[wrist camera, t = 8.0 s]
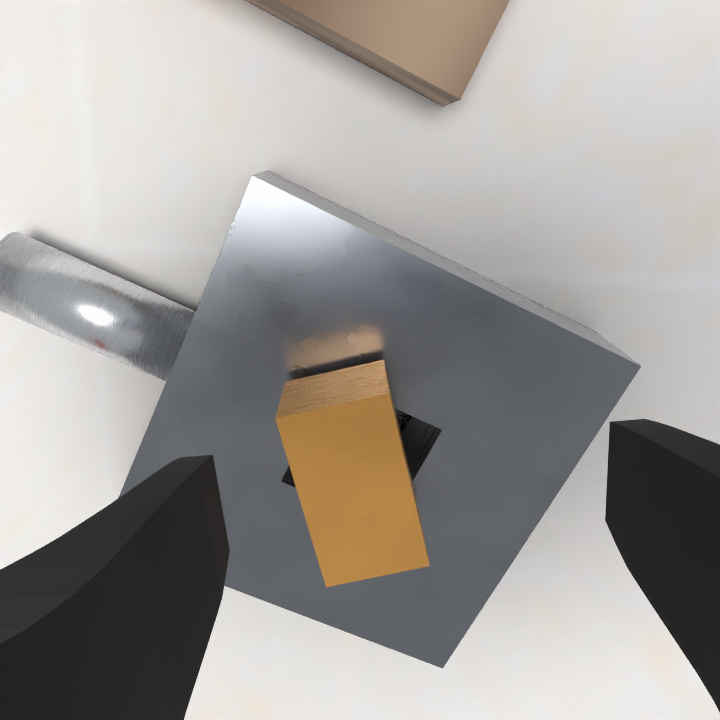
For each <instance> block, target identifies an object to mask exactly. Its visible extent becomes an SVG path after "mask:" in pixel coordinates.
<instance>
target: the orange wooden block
mask: <svg viewBox="0 0 720 720" xmlns="http://www.w3.org/2000/svg"><path fill="white" fill-rule="evenodd" d="M275 420H276V423H277V426H278V430H279V433H280V436H281V439H282V443H283V446H284V449H285V453H286V456H287V459H288V463H289V466H290V469H291V473H292V476H293V479H294V483H295V486H296V489H297V493H298V496H299V499H300V502H301V506H302V509H303V512H304V516H305V519H306V522H307V526H308V529H309V532H310V536H311V539H312V542H313V546H314V549H315V552H316V556H317V559H318V562H319V565H320V569H321V572H322V575H323V579H324V582H325V585H326V587H330V586H335V585H340V584H345V583H350V582H355V581H359V580H364V579H369V578H374V577H379V576H384V575H389V574H393V573H398V572H403V571H408V570H413V569H418V568H423V567H427V566H430V564H429V559H428V554H427V548H426V543H425V538H424V533H423V528H422V523H421V517H420V512H419V508H418V504H417V500H416V495H415V491H414V487H413V482H412V478H411V474H410V470H409V465H408V461H407V457H406V452H405V448H404V444H403V440H402V435H401V431H400V427H399V422H398V418H397V414H396V410H395V405H394V401H393V397H392V392H391V388H390V384H389V380H388V375H387V371H386V367H385V362H384V360H379V361H375V362H371V363H366V364H362V365H357V366H353V367H348V368H344V369H340V370H335V371H331V372H326V373H322V374H317V375H313V376H309V377H304V378H300V379H295V380H291V381H286V382H285V384H284V388H283V391H282V395H281V399H280V403H279V406H278V410H277V414H276V417H275Z"/></svg>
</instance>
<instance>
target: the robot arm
mask: <svg viewBox="0 0 720 720" xmlns="http://www.w3.org/2000/svg"><path fill="white" fill-rule="evenodd" d="M605 521H606V523H607V525H608V527H609V530H610V532H611V534H612V536H613V539H614V541H615V543H616V545H617V547H618V549H619V552H620V554H621V556H622V558H623V560H624V562H625V564H626V566H627V568H628V569H629V571H630V572H631V574H632V576H633V577H634V579H635V580H636V582H637V583H638V585H639V586H640V588H641V589H642V591H643V592H644V594H645V596H646V597H647V599H648V600H649V602H650V603H651V605H652V606H653V608H654V609H655V611H656V612H657V614H658V615H659V617H660V618H661V620H662V621H663V623H664V624H665V626H666V627H667V629H668V630H669V632H670V633H671V635H672V636H673V638H674V639H675V641H676V642H677V644H678V645H679V647H680V648H681V650H682V651H683V653H684V654H685V656H686V657H687V659H688V660H689V662H690V663H691V665H692V666H693V668H694V669H695V671H696V672H697V674H698V675H699V677H700V679H701V680H702V682H703V684H704V685H705V687H706V689H707V690H708V692H709V694H710V695H711V697H712V699H713V700H714V702H715V704H716V706H717V708H718V710H719V712H720V445H719V444H716V443H714V442H711V441H709V440H706V439H703V438H701V437H698V436H695V435H693V434H690V433H687V432H685V431H682V430H679V429H676V428H674V427H671V426H668V425H665V424H662V423H658V422H655V421H651V420H646V419H639V420H627V421H615V422H610V431H609V452H608V474H607V496H606V517H605ZM229 553H230V549H229V543H228V537H227V532H226V526H225V520H224V515H223V509H222V503H221V498H220V492H219V486H218V481H217V475H216V469H215V464H214V458H213V455H203V456H191V457H180V458H178V459H176V460H174V461H172V462H170V463H169V464H167V465H166V466H164V467H162V468H161V469H160V470H158V471H157V472H155V473H154V474H152V475H151V476H149V477H148V478H147V479H145V480H144V481H142V482H141V483H140V484H138V485H137V486H135V487H134V488H132V489H131V490H130V491H128V492H127V493H125V494H124V495H123V496H121V497H120V498H118V499H117V500H115V501H114V502H113V503H111V504H110V505H108V506H107V507H105V508H104V509H102V510H101V511H99V512H98V513H96V514H95V515H93V516H92V517H90V518H88V519H87V520H85V521H84V522H82V523H81V524H79V525H78V526H76V527H75V528H73V529H71V530H70V531H68V532H67V533H65V534H64V535H62V536H61V537H59V538H57V539H56V540H54V541H52V542H50V543H49V544H47V545H45V546H44V547H42V548H40V549H38V550H36V551H35V552H33V553H31V554H29V555H27V556H25V557H24V558H22V559H20V560H18V561H16V562H14V563H12V564H10V565H8V566H7V567H5V568H3V569H1V570H0V720H184V717H185V713H186V710H187V707H188V704H189V701H190V698H191V694H192V691H193V688H194V685H195V682H196V679H197V676H198V673H199V670H200V667H201V663H202V660H203V657H204V654H205V651H206V648H207V645H208V642H209V639H210V635H211V632H212V629H213V626H214V623H215V619H216V616H217V613H218V610H219V606H220V603H221V600H222V595H223V589H224V584H225V578H226V572H227V566H228V559H229Z"/></svg>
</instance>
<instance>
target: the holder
mask: <svg viewBox="0 0 720 720" xmlns="http://www.w3.org/2000/svg"><path fill="white" fill-rule="evenodd" d="M246 1H247V2H249V3H251V4H253V5H255V6H257V7H259V8H260V9H262V10H264V11H266V12H268V13H270V14H272V15H274V16H275V17H277V18H279V19H281V20H283V21H285V22H287V23H289V24H290V25H292V26H294V27H296V28H298V29H300V30H302V31H304V32H305V33H307V34H309V35H311V36H313V37H315V38H317V39H318V40H320V41H322V42H324V43H326V44H328V45H330V46H332V47H333V48H335V49H337V50H339V51H341V52H343V53H345V54H347V55H348V56H350V57H352V58H354V59H356V60H358V61H360V62H362V63H363V64H365V65H367V66H369V67H371V68H373V69H375V70H376V71H378V72H380V73H382V74H384V75H386V76H388V77H390V78H391V79H393V80H395V81H397V82H399V83H401V84H403V85H405V86H406V87H408V88H410V89H412V90H414V91H416V92H418V93H419V94H421V95H423V96H425V97H427V98H429V99H431V100H433V101H434V102H436V103H438V104H440V105H442V106H446V105H448V104H450V103H453V102H455V101H458V100H460V99H461V97H462V95H463V93H464V91H465V89H466V87H467V85H468V83H469V81H470V79H471V77H472V75H473V73H474V71H475V69H476V67H477V65H478V63H479V61H480V59H481V57H482V55H483V53H484V51H485V49H486V47H487V45H488V42H489V40H490V38H491V36H492V34H493V32H494V30H495V28H496V26H497V24H498V22H499V20H500V18H501V16H502V14H503V12H504V10H505V8H506V6H507V4H508V2H509V0H246Z"/></svg>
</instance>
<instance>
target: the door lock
mask: <svg viewBox="0 0 720 720" xmlns="http://www.w3.org/2000/svg"><path fill="white" fill-rule="evenodd" d="M0 311H2V312H4V313H7V314H9V315H11V316H14V317H16V318H18V319H21V320H23V321H25V322H28V323H30V324H32V325H35V326H37V327H39V328H42V329H44V330H46V331H49V332H51V333H53V334H56V335H58V336H61V337H63V338H65V339H68V340H70V341H72V342H75V343H77V344H79V345H82V346H84V347H86V348H89V349H91V350H93V351H96V352H98V353H100V354H103V355H105V356H108V357H110V358H112V359H115V360H117V361H119V362H122V363H124V364H126V365H129V366H131V367H133V368H136V369H138V370H140V371H143V372H145V373H147V374H150V375H152V376H155V377H157V378H159V379H162V380H164V381H166V385H165V387H164V389H163V392H162V394H161V397H160V399H159V402H158V404H157V406H156V409H155V411H154V414H153V416H152V418H151V421H150V423H149V426H148V428H147V430H146V433H145V435H144V438H143V440H142V443H141V445H140V447H139V450H138V452H137V455H136V457H135V459H134V462H133V464H132V467H131V469H130V471H129V474H128V476H127V479H126V481H125V483H124V486H123V488H122V491H121V493H120V496H119V498H120V497H121V496H123V495H124V494H125V493H127V492H128V491H130V490H131V489H132V488H134V487H135V486H137V485H138V484H140V483H141V482H142V481H144V480H145V479H147V478H148V477H149V476H151V475H152V474H154V473H155V472H157V471H158V470H160V469H161V468H162V467H164V466H166V465H167V464H169V463H170V462H172V461H174V460H176V459H178V458H180V457H191V456H203V455H213V458H214V464H215V469H216V475H217V481H218V486H219V492H220V498H221V503H222V509H223V515H224V520H225V526H226V532H227V537H228V543H229V549H230V553H229V559H228V566H227V572H226V578H225V584H224V586H227V587H229V588H232V589H235V590H237V591H240V592H243V593H245V594H248V595H250V596H253V597H256V598H258V599H261V600H264V601H266V602H269V603H272V604H274V605H277V606H279V607H282V608H285V609H287V610H290V611H293V612H295V613H298V614H301V615H303V616H306V617H309V618H311V619H314V620H316V621H319V622H322V623H324V624H327V625H330V626H332V627H335V628H338V629H340V630H343V631H345V632H348V633H351V634H353V635H356V636H359V637H361V638H364V639H367V640H369V641H372V642H375V643H377V644H380V645H382V646H385V647H388V648H390V649H393V650H396V651H398V652H401V653H404V654H406V655H409V656H411V657H414V658H417V659H419V660H422V661H425V662H427V663H430V664H433V665H435V666H438V667H441V668H443V667H444V666H445V664H446V662H447V661H448V659H449V658H450V656H451V655H452V653H453V652H454V650H455V649H456V647H457V646H458V644H459V643H460V641H461V640H462V638H463V637H464V635H465V634H466V632H467V631H468V629H469V627H470V626H471V624H472V623H473V621H474V620H475V618H476V617H477V615H478V614H479V612H480V611H481V609H482V608H483V606H484V605H485V603H486V602H487V600H488V599H489V597H490V595H491V594H492V592H493V591H494V589H495V588H496V586H497V585H498V583H499V582H500V580H501V579H502V577H503V576H504V574H505V573H506V571H507V570H508V568H509V567H510V565H511V563H512V562H513V560H514V559H515V557H516V556H517V554H518V553H519V551H520V550H521V548H522V547H523V545H524V544H525V542H526V541H527V539H528V538H529V536H530V535H531V533H532V532H533V530H534V528H535V527H536V525H537V524H538V522H539V521H540V519H541V518H542V516H543V515H544V513H545V512H546V510H547V509H548V507H549V506H550V504H551V503H552V501H553V500H554V498H555V496H556V495H557V493H558V492H559V490H560V489H561V487H562V486H563V484H564V483H565V481H566V480H567V478H568V477H569V475H570V474H571V472H572V471H573V469H574V468H575V466H576V464H577V463H578V461H579V460H580V458H581V457H582V455H583V454H584V452H585V451H586V449H587V448H588V446H589V445H590V443H591V442H592V440H593V439H594V437H595V436H596V434H597V433H598V431H599V429H600V428H601V426H602V425H603V423H604V422H605V420H606V419H607V417H608V416H609V414H610V413H611V411H612V410H613V408H614V407H615V405H616V404H617V402H618V401H619V399H620V397H621V396H622V394H623V393H624V391H625V390H626V388H627V387H628V385H629V384H630V382H631V381H632V379H633V378H634V376H635V375H636V373H637V372H638V370H639V369H640V367H641V366H640V365H639V364H638V363H636V362H635V361H634V360H632V359H631V358H630V357H628V356H627V355H626V354H624V353H623V352H622V351H620V350H619V349H618V348H616V347H615V346H614V345H612V344H611V343H610V342H608V341H607V340H606V339H604V338H603V337H602V336H600V335H599V334H598V333H596V332H595V331H593V330H590V329H588V328H586V327H584V326H582V325H580V324H578V323H576V322H574V321H572V320H570V319H568V318H566V317H564V316H562V315H560V314H558V313H556V312H554V311H552V310H550V309H548V308H546V307H544V306H542V305H540V304H538V303H536V302H534V301H532V300H530V299H528V298H526V297H524V296H521V295H519V294H517V293H515V292H513V291H511V290H509V289H507V288H505V287H503V286H501V285H499V284H497V283H495V282H493V281H491V280H489V279H487V278H485V277H483V276H481V275H479V274H477V273H475V272H473V271H471V270H469V269H467V268H465V267H463V266H461V265H459V264H457V263H455V262H453V261H450V260H448V259H446V258H444V257H442V256H440V255H438V254H436V253H434V252H432V251H430V250H428V249H426V248H424V247H422V246H420V245H418V244H416V243H414V242H412V241H410V240H408V239H406V238H404V237H402V236H400V235H398V234H396V233H394V232H392V231H390V230H388V229H386V228H384V227H381V226H379V225H377V224H375V223H373V222H371V221H369V220H367V219H365V218H363V217H361V216H359V215H357V214H355V213H353V212H351V211H349V210H347V209H345V208H343V207H341V206H339V205H337V204H335V203H333V202H331V201H329V200H327V199H325V198H323V197H321V196H319V195H317V194H315V193H312V192H310V191H308V190H306V189H304V188H302V187H300V186H298V185H296V184H294V183H292V182H290V181H288V180H286V179H284V178H282V177H280V176H278V175H276V174H274V173H272V172H270V171H266V172H263V173H259V174H256V175H253V176H252V177H251V180H250V182H249V185H248V187H247V189H246V192H245V194H244V197H243V199H242V202H241V204H240V206H239V209H238V211H237V214H236V216H235V218H234V221H233V223H232V226H231V228H230V230H229V233H228V235H227V238H226V240H225V242H224V245H223V247H222V250H221V252H220V255H219V257H218V259H217V262H216V264H215V267H214V269H213V271H212V274H211V276H210V279H209V281H208V283H207V286H206V288H205V291H204V293H203V295H202V298H201V300H200V303H199V305H198V308H197V310H196V311H194V310H192V309H190V308H187V307H185V306H183V305H181V304H178V303H176V302H174V301H172V300H169V299H167V298H165V297H163V296H160V295H158V294H156V293H154V292H152V291H149V290H147V289H145V288H143V287H140V286H138V285H136V284H134V283H131V282H129V281H127V280H125V279H122V278H120V277H118V276H116V275H113V274H111V273H109V272H107V271H105V270H102V269H100V268H98V267H96V266H93V265H91V264H89V263H87V262H84V261H82V260H80V259H78V258H75V257H73V256H71V255H69V254H67V253H64V252H62V251H60V250H58V249H55V248H53V247H51V246H49V245H46V244H44V243H42V242H40V241H37V240H35V239H33V238H31V237H28V236H26V235H24V234H22V233H20V232H13V233H10V234H8V235H7V236H6V237H4V238H3V239H2V240H1V241H0ZM379 360H384V362H385V367H386V371H387V375H388V380H389V384H390V388H391V392H392V397H393V401H394V405H395V409H397V410H399V411H401V412H404V413H406V414H408V415H410V416H412V417H411V419H410V421H409V422H408V424H407V426H406V428H405V430H404V432H403V433H402V440H403V444H404V448H405V452H406V457H407V461H408V465H409V470H410V474H411V478H412V482H413V487H414V491H415V495H416V500H417V504H418V508H419V512H420V517H421V523H422V528H423V533H424V538H425V543H426V548H427V554H428V559H429V564H430V566H427V567H423V568H418V569H413V570H408V571H403V572H398V573H393V574H389V575H384V576H379V577H374V578H369V579H364V580H359V581H355V582H350V583H345V584H340V585H335V586H330V587H326V585H325V582H324V579H323V575H322V572H321V569H320V565H319V562H318V559H317V556H316V552H315V549H314V546H313V542H312V539H311V536H310V532H309V529H308V526H307V522H306V519H305V516H304V512H303V509H302V506H301V502H300V499H299V496H298V493H297V489H296V486H295V483H294V479H293V476H292V473H291V469H290V466H289V463H288V459H287V456H286V453H285V449H284V446H283V443H282V439H281V436H280V433H279V430H278V426H277V423H276V420H275V417H276V414H277V410H278V406H279V403H280V399H281V395H282V391H283V388H284V384H285V382H286V381H291V380H295V379H300V378H304V377H309V376H313V375H317V374H322V373H326V372H331V371H335V370H340V369H344V368H348V367H353V366H357V365H362V364H366V363H371V362H375V361H379Z"/></svg>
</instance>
